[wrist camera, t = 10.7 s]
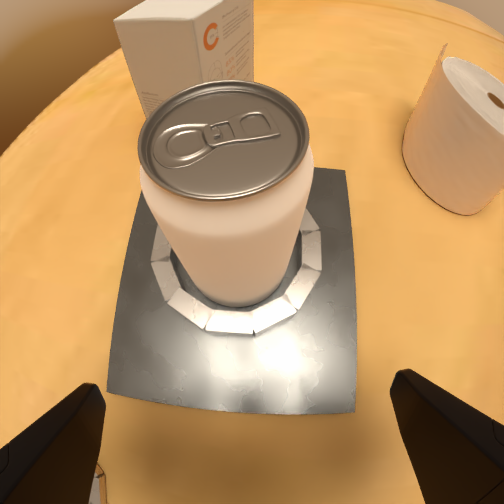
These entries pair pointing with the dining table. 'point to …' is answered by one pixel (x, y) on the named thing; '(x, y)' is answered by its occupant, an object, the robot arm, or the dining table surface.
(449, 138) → the toilet tissue
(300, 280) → the ring seat
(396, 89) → the dining table surface
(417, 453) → the robot arm
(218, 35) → the small box
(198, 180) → the can
